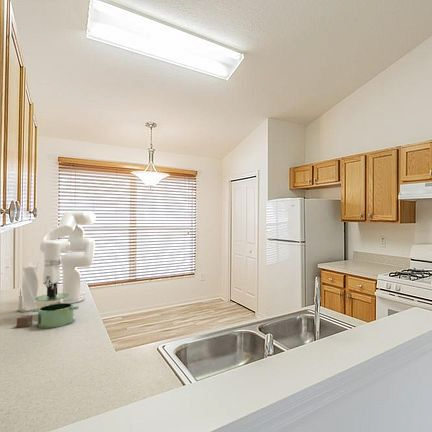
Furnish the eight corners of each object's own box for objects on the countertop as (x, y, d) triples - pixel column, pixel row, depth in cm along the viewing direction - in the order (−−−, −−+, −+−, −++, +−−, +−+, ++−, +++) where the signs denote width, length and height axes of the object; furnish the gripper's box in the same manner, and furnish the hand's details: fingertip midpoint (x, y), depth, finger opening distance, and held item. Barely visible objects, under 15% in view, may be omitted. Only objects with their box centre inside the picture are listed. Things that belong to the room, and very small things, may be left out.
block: (21, 324, 163) (21, 315, 163) (32, 323, 165) (32, 314, 165) (16, 327, 159) (16, 318, 159) (27, 326, 160) (27, 317, 160)
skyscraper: (34, 306, 195) (34, 261, 195) (41, 308, 191) (41, 262, 191) (17, 310, 187) (18, 263, 187) (24, 312, 183) (24, 264, 183)
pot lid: (42, 296, 185) (42, 284, 185) (73, 294, 189) (73, 283, 189) (28, 303, 170) (28, 290, 170) (62, 301, 174) (62, 288, 174)
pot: (40, 320, 170) (40, 304, 170) (82, 317, 175) (82, 301, 175) (25, 329, 156) (25, 312, 156) (72, 326, 161) (72, 309, 161)
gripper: (51, 261, 187) (51, 292, 187) (37, 265, 171) (37, 299, 171) (66, 261, 189) (65, 292, 189) (53, 264, 173) (53, 298, 173)
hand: (52, 295), depth 180 cm, fingers closed on pot lid, 3 cm apart
